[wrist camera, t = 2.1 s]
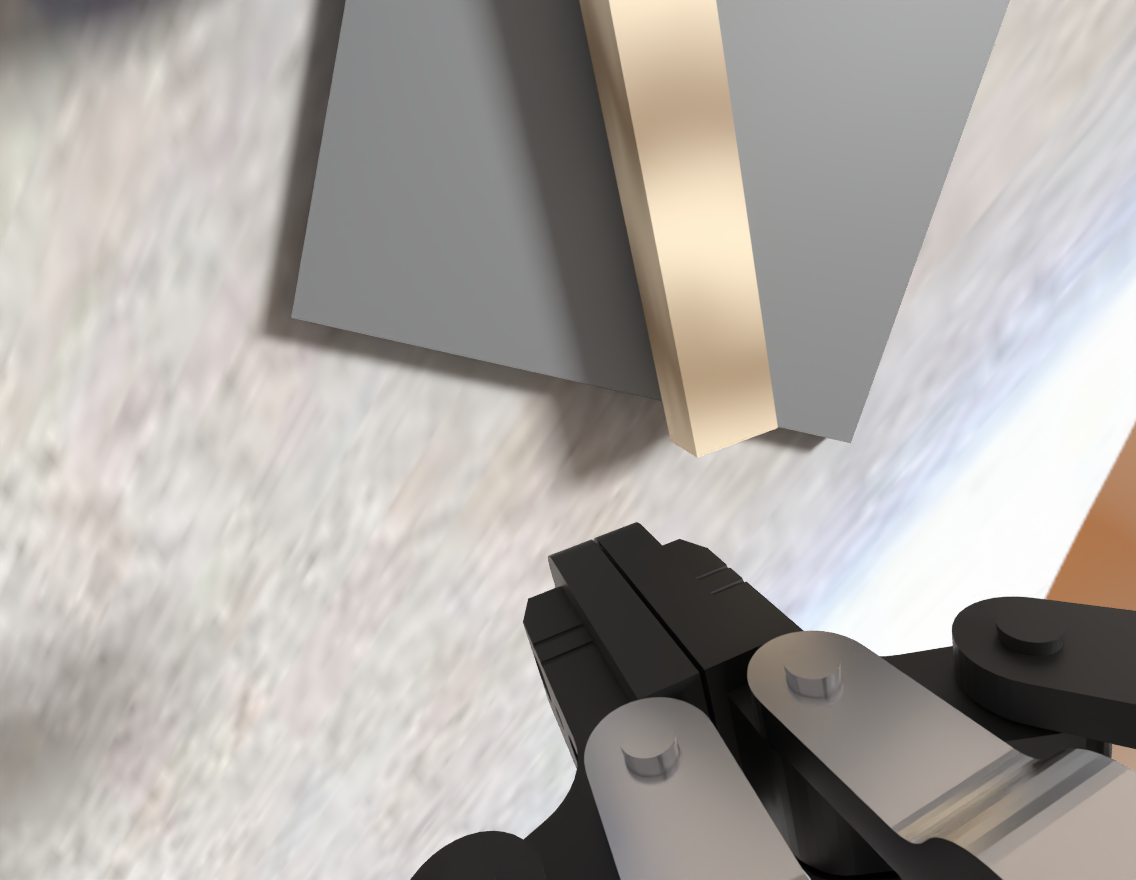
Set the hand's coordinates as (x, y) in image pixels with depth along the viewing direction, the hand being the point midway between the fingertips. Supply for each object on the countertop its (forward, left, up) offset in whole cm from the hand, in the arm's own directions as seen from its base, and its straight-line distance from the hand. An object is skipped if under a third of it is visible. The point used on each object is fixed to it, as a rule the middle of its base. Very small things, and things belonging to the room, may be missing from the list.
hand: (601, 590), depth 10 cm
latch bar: (-10, +3, -12) cm, 16 cm away
